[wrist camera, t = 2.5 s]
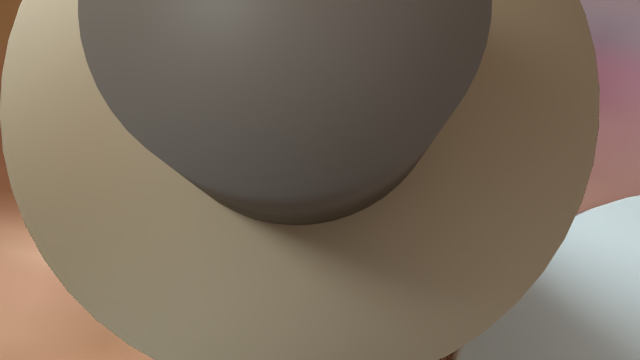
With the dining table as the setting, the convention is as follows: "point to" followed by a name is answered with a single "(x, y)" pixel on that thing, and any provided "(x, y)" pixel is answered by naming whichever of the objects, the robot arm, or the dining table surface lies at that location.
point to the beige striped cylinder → (299, 166)
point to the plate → (577, 297)
